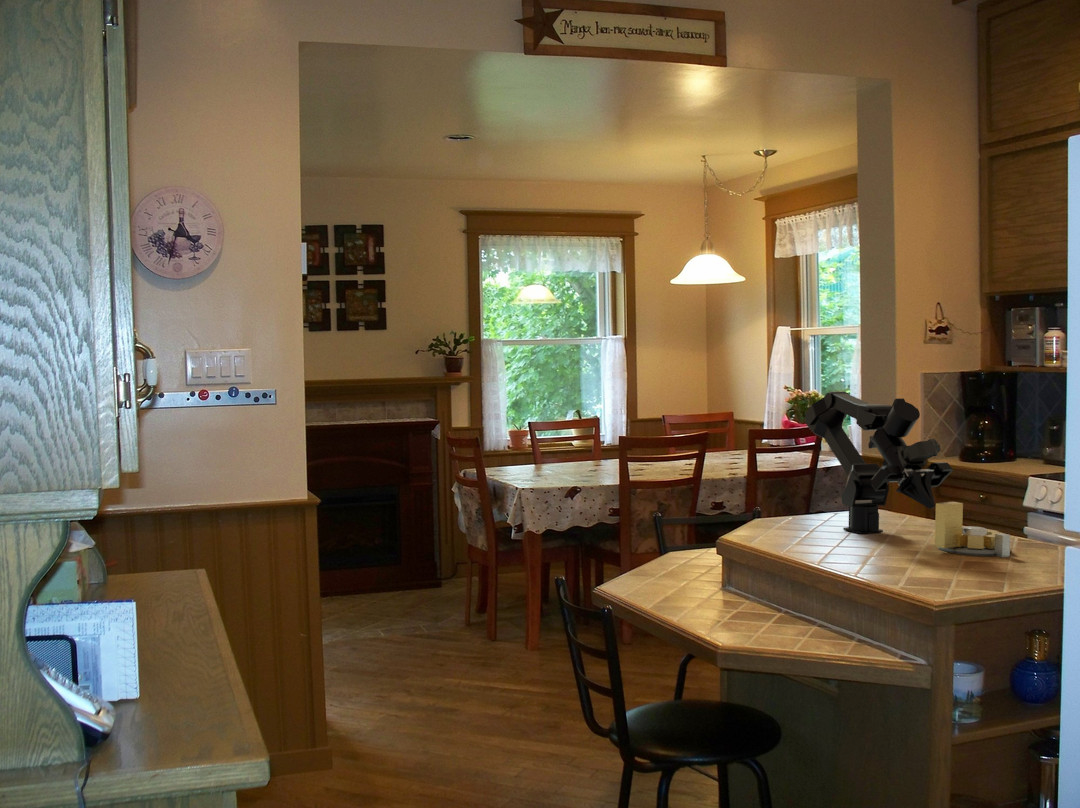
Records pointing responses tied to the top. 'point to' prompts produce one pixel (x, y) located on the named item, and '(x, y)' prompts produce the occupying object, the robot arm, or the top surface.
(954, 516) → the beige block cluster
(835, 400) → the robot arm
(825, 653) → the top surface
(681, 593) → the top surface
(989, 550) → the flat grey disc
